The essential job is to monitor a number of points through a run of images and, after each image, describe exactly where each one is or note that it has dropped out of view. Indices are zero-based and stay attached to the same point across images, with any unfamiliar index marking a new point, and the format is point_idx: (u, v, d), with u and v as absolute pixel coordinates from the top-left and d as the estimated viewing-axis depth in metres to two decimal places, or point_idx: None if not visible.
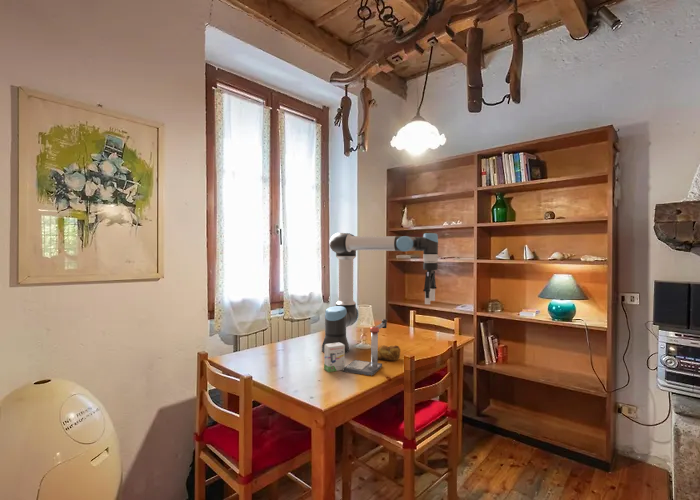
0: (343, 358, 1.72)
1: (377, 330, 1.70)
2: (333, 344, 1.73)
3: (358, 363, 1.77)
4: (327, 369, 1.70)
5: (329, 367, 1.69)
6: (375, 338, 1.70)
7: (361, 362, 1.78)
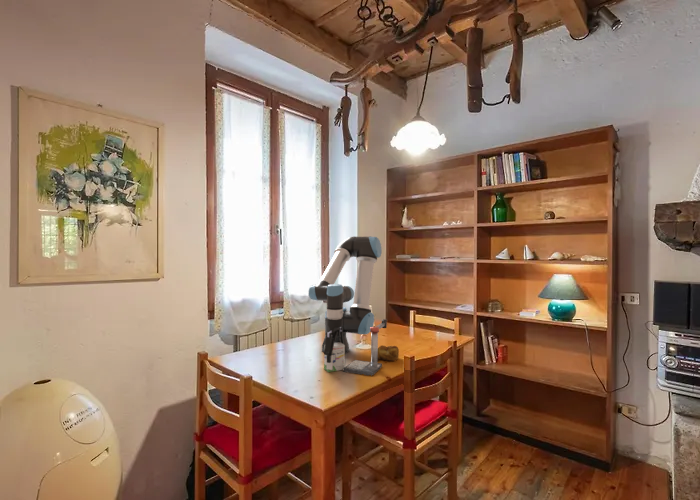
0: (343, 358, 1.72)
1: (377, 330, 1.70)
2: None
3: (358, 363, 1.77)
4: (327, 369, 1.70)
5: None
6: (375, 338, 1.70)
7: (361, 362, 1.78)
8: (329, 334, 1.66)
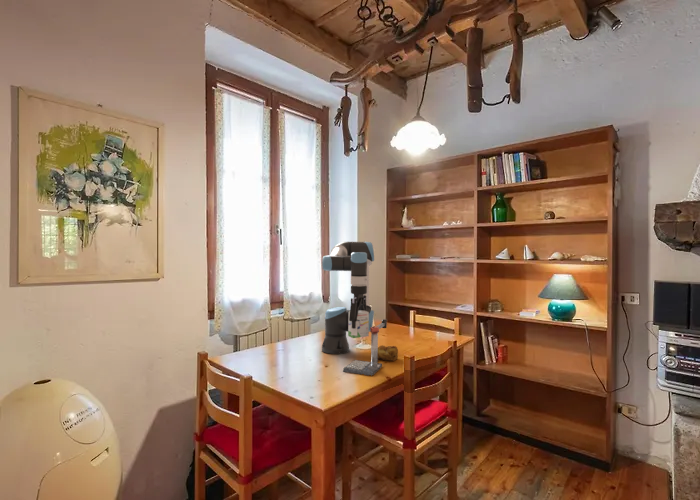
0: (367, 325, 1.74)
1: (377, 330, 1.70)
2: None
3: (358, 363, 1.77)
4: (352, 335, 1.71)
5: None
6: (375, 338, 1.70)
7: (361, 362, 1.78)
8: (354, 300, 1.68)
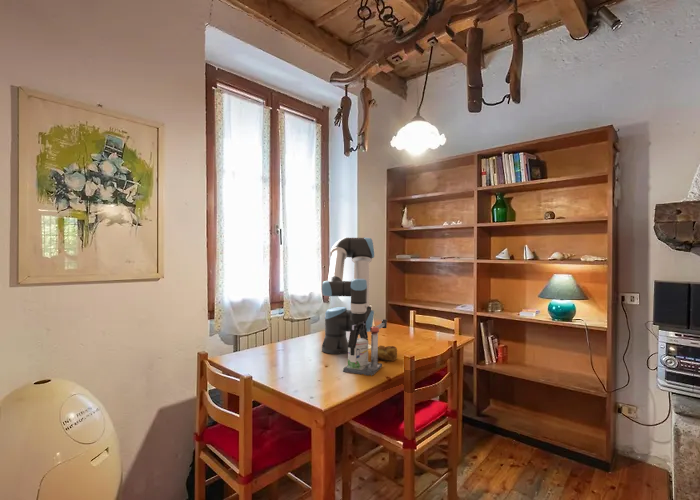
0: (367, 353, 1.74)
1: (377, 330, 1.70)
2: None
3: None
4: (351, 364, 1.72)
5: (353, 362, 1.71)
6: (375, 338, 1.70)
7: None
8: (354, 327, 1.68)
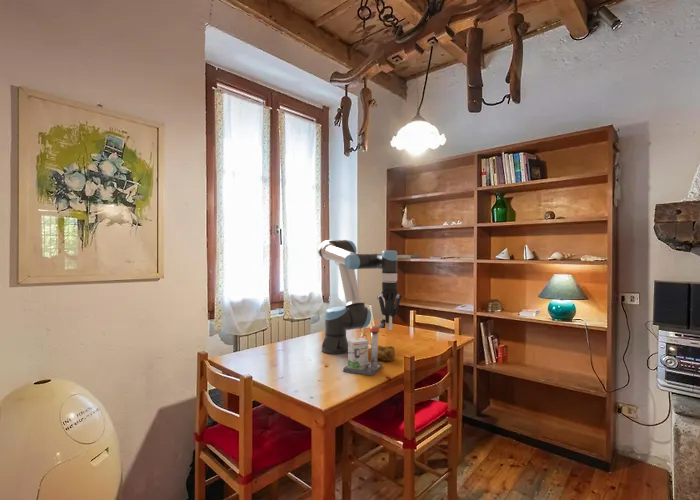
0: (367, 353, 1.74)
1: (377, 330, 1.70)
2: (356, 340, 1.74)
3: None
4: (351, 364, 1.72)
5: (353, 362, 1.71)
6: (375, 338, 1.70)
7: None
8: None
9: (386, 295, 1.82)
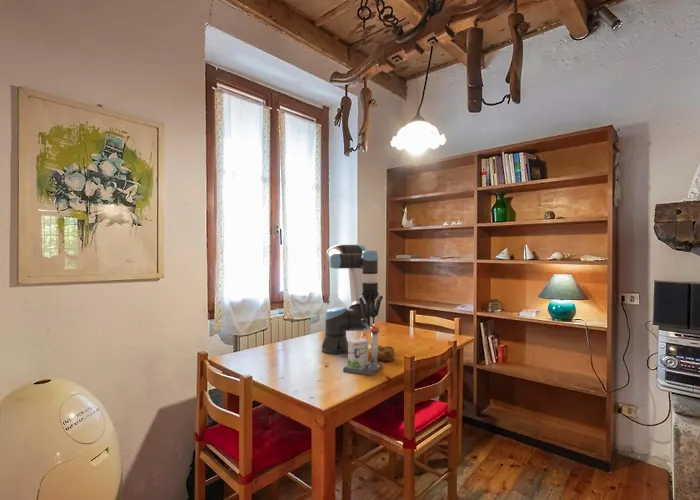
0: (367, 353, 1.74)
1: (378, 329, 1.71)
2: (356, 340, 1.74)
3: None
4: (351, 364, 1.72)
5: (353, 362, 1.71)
6: (375, 338, 1.70)
7: None
8: None
9: (366, 296, 1.78)
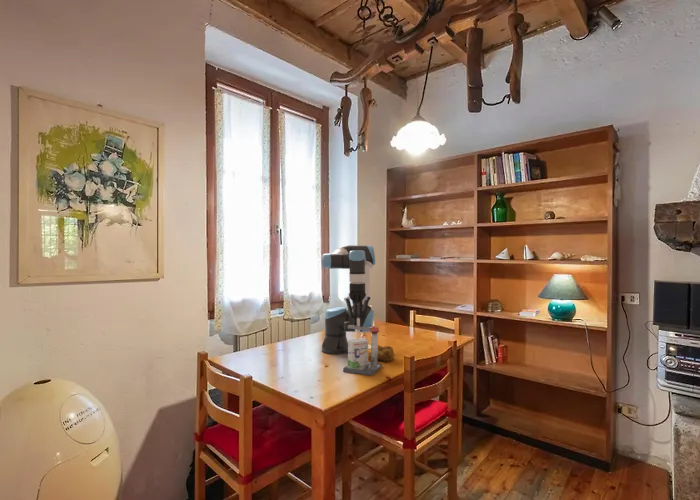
0: (367, 353, 1.74)
1: None
2: (356, 340, 1.74)
3: None
4: (351, 364, 1.72)
5: (353, 362, 1.71)
6: (375, 338, 1.70)
7: None
8: None
9: (353, 297, 1.76)
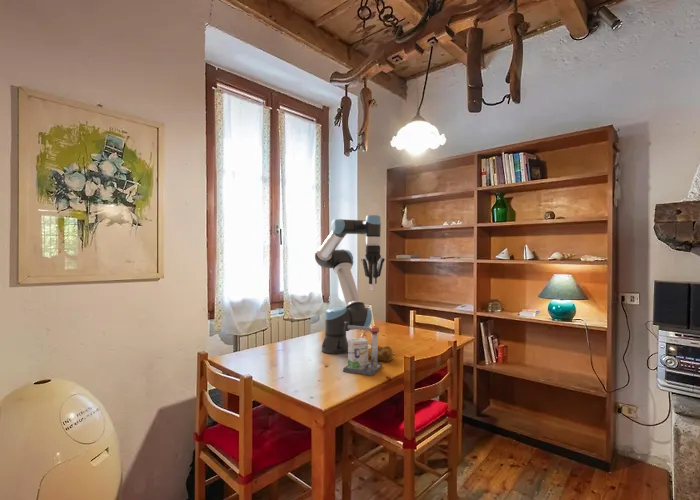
0: (367, 353, 1.74)
1: None
2: (356, 340, 1.74)
3: None
4: (351, 364, 1.72)
5: (353, 362, 1.71)
6: (375, 338, 1.70)
7: None
8: None
9: (369, 257, 1.92)
